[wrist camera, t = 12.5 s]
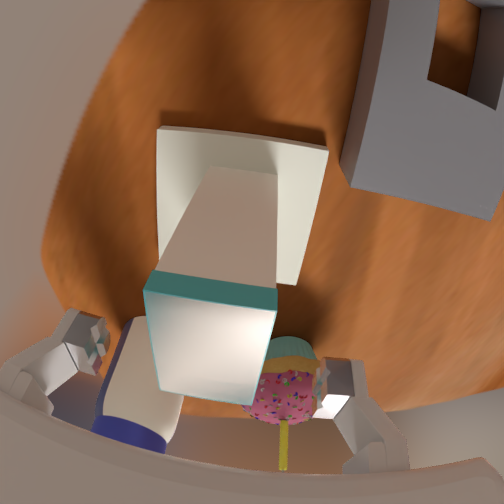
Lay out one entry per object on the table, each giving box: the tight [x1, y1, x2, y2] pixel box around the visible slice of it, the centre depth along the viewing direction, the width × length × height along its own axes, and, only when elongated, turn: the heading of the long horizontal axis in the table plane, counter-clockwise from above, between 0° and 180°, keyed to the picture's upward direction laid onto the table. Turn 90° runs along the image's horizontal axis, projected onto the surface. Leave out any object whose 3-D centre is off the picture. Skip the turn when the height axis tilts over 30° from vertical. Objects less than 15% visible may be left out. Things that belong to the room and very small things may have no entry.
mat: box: [156, 126, 329, 285], centre depth 21 cm, size 10×10×1 cm
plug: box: [143, 166, 278, 406], centre depth 16 cm, size 4×6×11 cm
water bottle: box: [90, 316, 184, 454], centre depth 20 cm, size 8×9×25 cm
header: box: [339, 0, 504, 221], centre depth 12 cm, size 10×20×4 cm, turn 173°
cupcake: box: [241, 336, 320, 473], centre depth 24 cm, size 9×8×12 cm
